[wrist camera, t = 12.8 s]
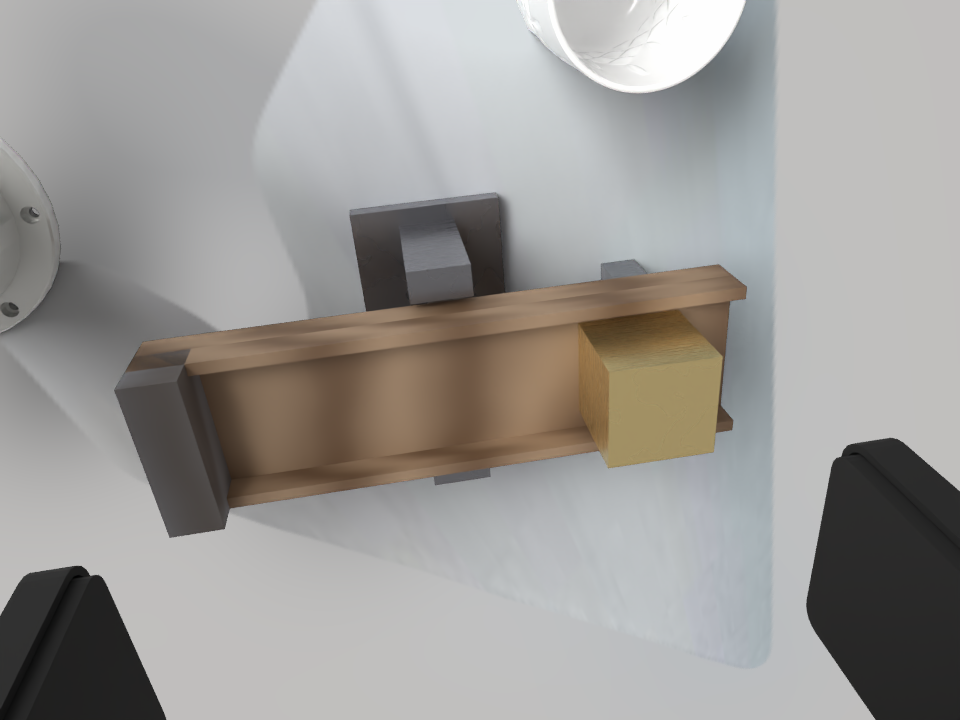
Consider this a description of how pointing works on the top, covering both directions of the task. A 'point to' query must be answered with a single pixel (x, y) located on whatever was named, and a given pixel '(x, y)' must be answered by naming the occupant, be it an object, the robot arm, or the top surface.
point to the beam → (383, 392)
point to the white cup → (634, 37)
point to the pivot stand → (430, 258)
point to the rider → (648, 387)
